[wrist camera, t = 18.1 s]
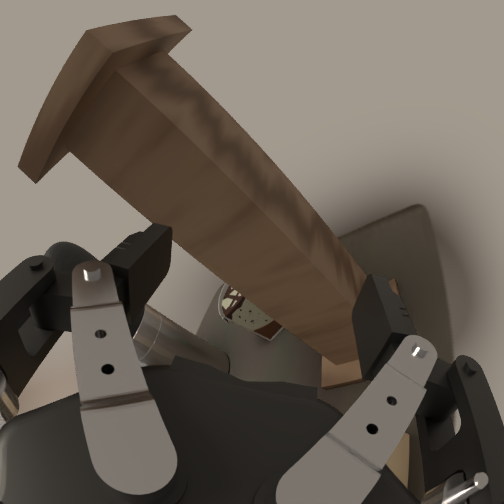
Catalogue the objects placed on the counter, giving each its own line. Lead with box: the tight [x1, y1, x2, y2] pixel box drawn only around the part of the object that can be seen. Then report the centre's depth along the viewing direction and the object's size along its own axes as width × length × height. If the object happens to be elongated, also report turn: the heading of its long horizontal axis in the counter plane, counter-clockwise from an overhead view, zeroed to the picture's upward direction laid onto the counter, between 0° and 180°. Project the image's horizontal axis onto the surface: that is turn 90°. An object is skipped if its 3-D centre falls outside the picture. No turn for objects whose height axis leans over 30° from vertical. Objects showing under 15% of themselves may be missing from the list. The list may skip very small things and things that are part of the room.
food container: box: [218, 283, 284, 341], centre depth 45 cm, size 12×6×10 cm, turn 119°
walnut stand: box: [18, 15, 400, 390], centre depth 25 cm, size 12×11×38 cm
